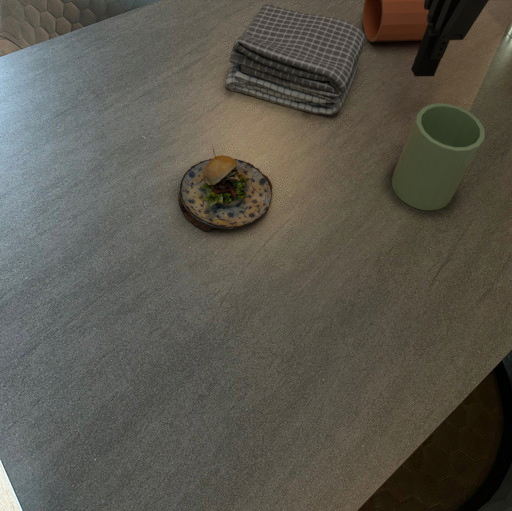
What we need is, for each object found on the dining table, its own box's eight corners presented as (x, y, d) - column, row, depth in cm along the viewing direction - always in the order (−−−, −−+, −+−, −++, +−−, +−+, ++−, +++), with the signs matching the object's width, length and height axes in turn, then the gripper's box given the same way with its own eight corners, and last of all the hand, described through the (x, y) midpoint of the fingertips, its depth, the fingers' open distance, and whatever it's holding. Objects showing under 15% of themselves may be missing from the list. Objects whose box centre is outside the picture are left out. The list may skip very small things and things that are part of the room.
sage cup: (439, 163, 88) (469, 102, 80) (461, 208, 84) (495, 148, 75) (383, 166, 87) (407, 104, 78) (402, 212, 82) (430, 152, 73)
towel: (338, 124, 91) (350, 80, 85) (219, 88, 93) (223, 42, 86) (360, 65, 100) (372, 21, 94) (251, 33, 102) (256, -12, 95)
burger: (205, 249, 75) (208, 208, 69) (162, 182, 80) (161, 139, 74) (289, 216, 79) (299, 175, 74) (243, 155, 85) (248, 112, 79)
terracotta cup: (434, -26, 103) (371, -25, 100) (453, 4, 98) (387, 5, 96) (418, 20, 109) (358, 21, 107) (435, 50, 105) (373, 52, 102)
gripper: (443, -151, 66) (381, 42, 85) (491, -90, 59) (411, 106, 77) (507, -147, 68) (432, 42, 86) (561, -87, 60) (466, 105, 79)
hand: (422, 72), depth 82 cm, fingers closed
